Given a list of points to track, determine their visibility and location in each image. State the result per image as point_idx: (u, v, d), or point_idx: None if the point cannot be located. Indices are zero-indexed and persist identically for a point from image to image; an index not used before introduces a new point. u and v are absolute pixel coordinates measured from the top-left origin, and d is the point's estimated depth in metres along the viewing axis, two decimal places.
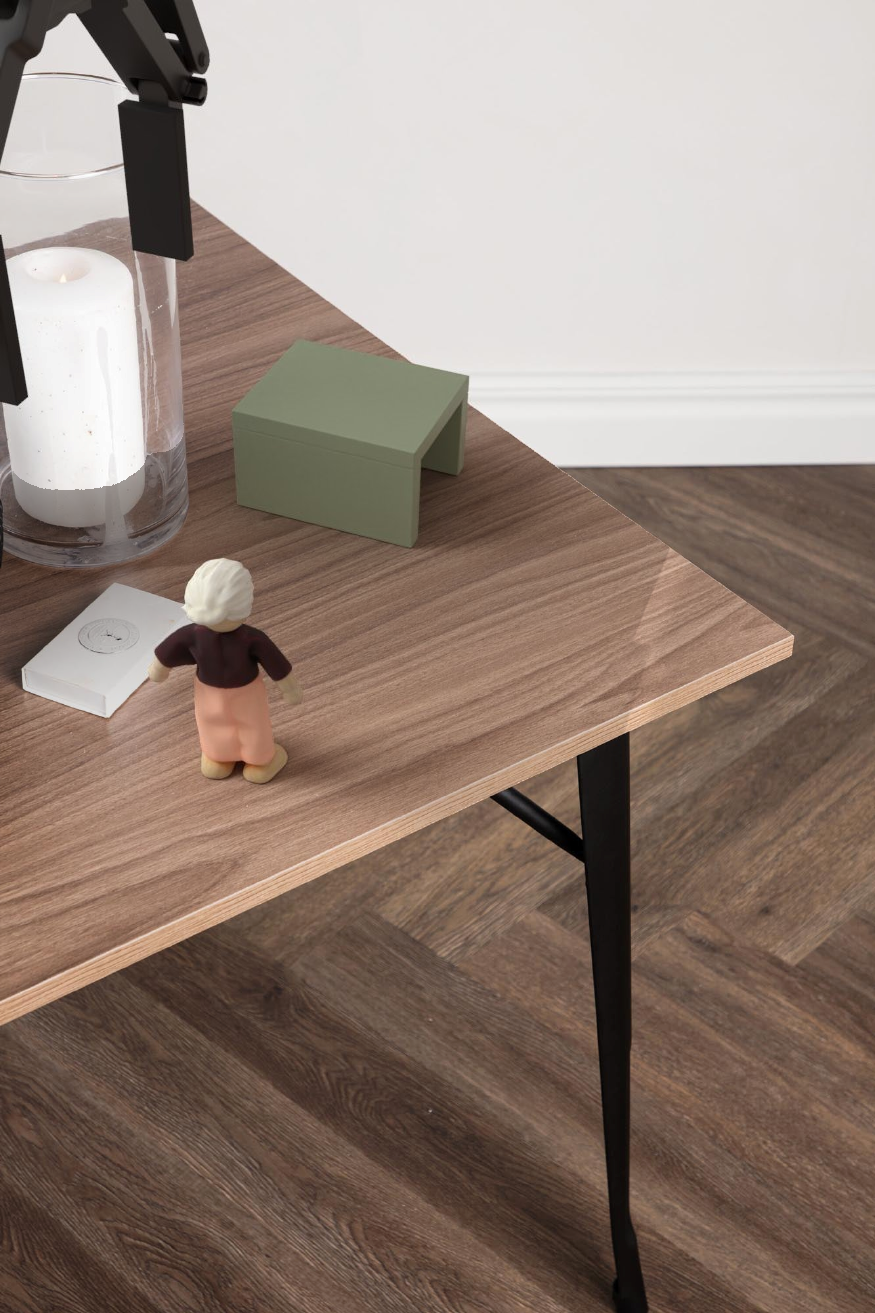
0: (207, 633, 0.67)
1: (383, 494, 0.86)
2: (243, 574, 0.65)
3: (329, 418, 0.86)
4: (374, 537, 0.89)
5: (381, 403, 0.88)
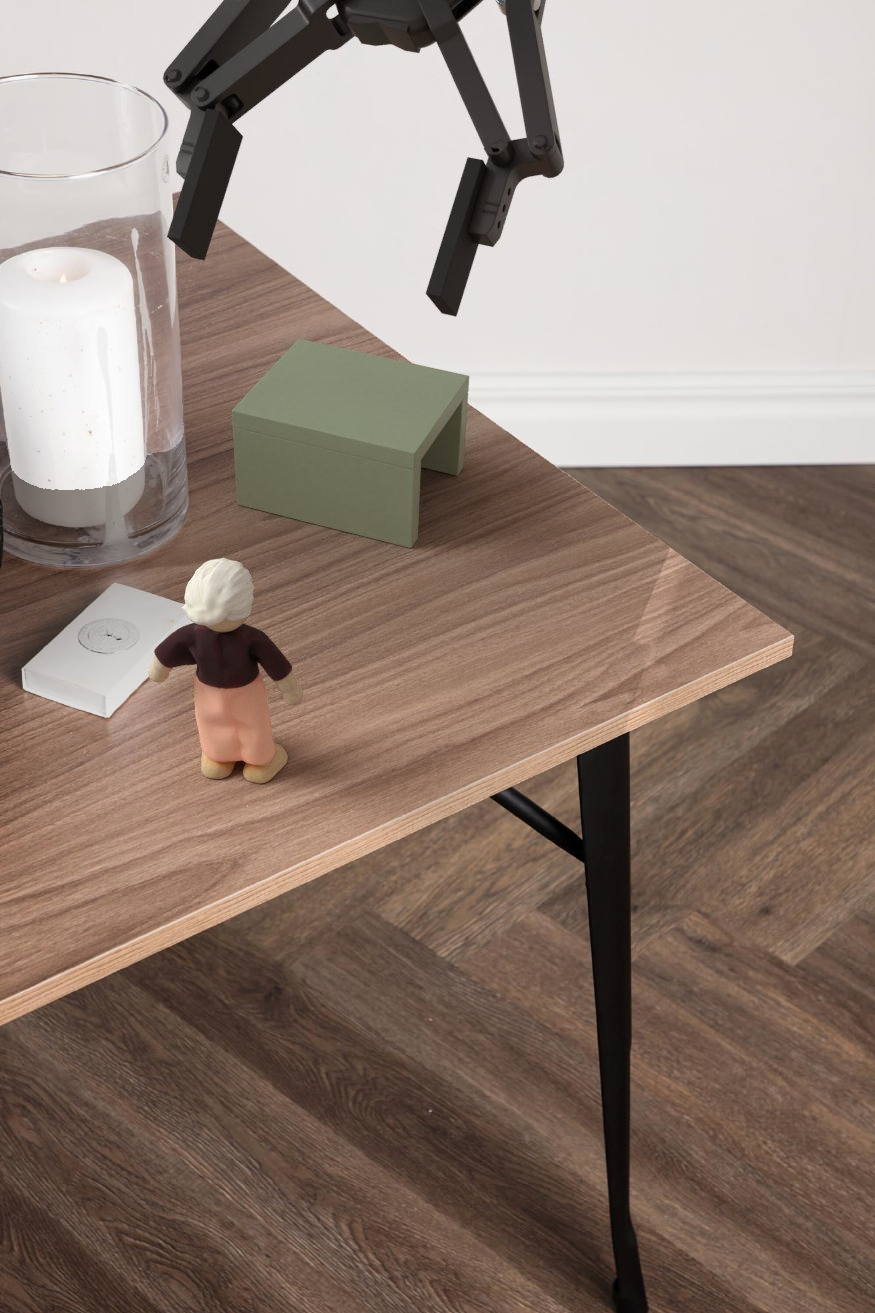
0: (207, 633, 0.67)
1: (383, 494, 0.86)
2: (243, 574, 0.65)
3: (329, 418, 0.86)
4: (374, 537, 0.89)
5: (381, 403, 0.88)
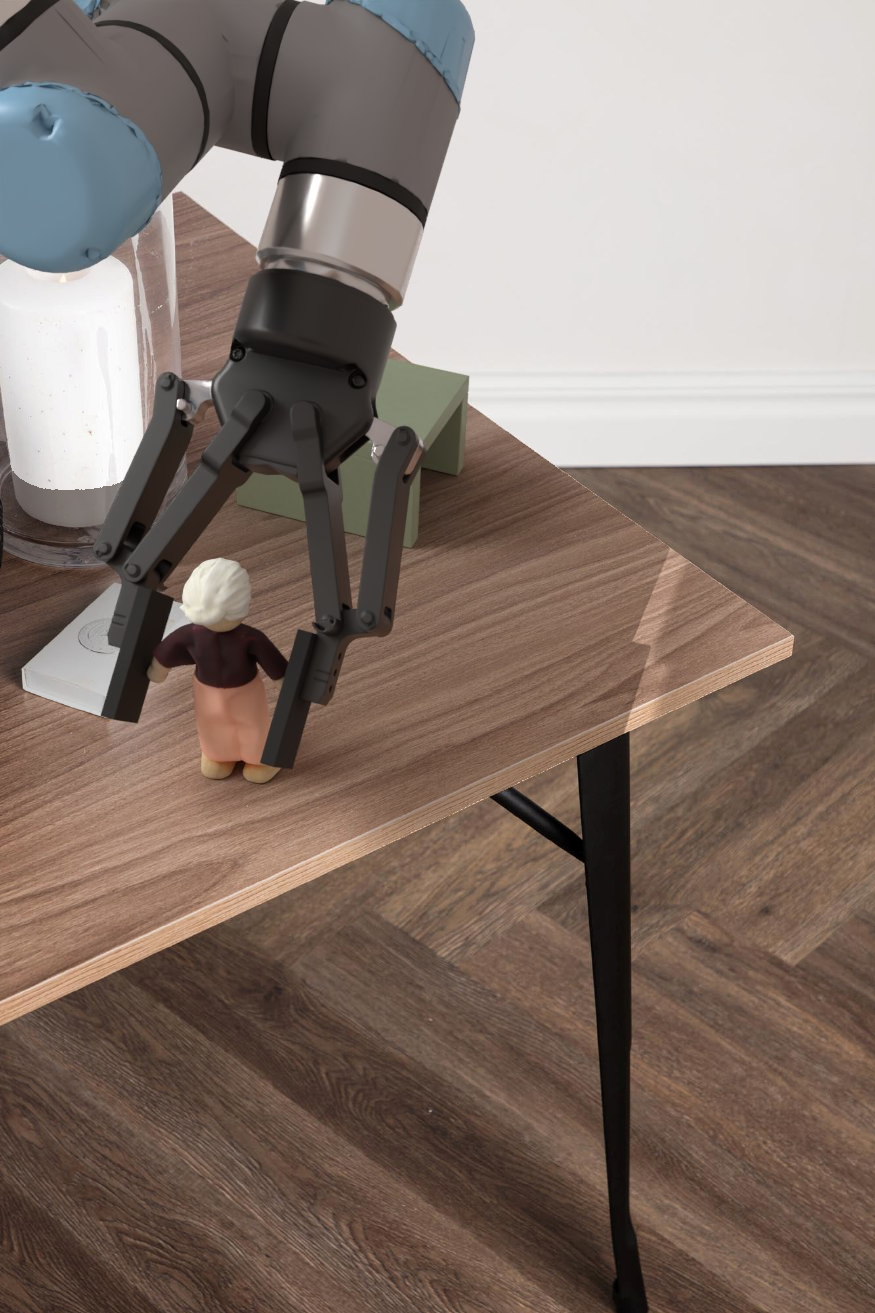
0: (205, 633, 0.67)
1: None
2: (240, 574, 0.65)
3: None
4: None
5: (381, 403, 0.88)
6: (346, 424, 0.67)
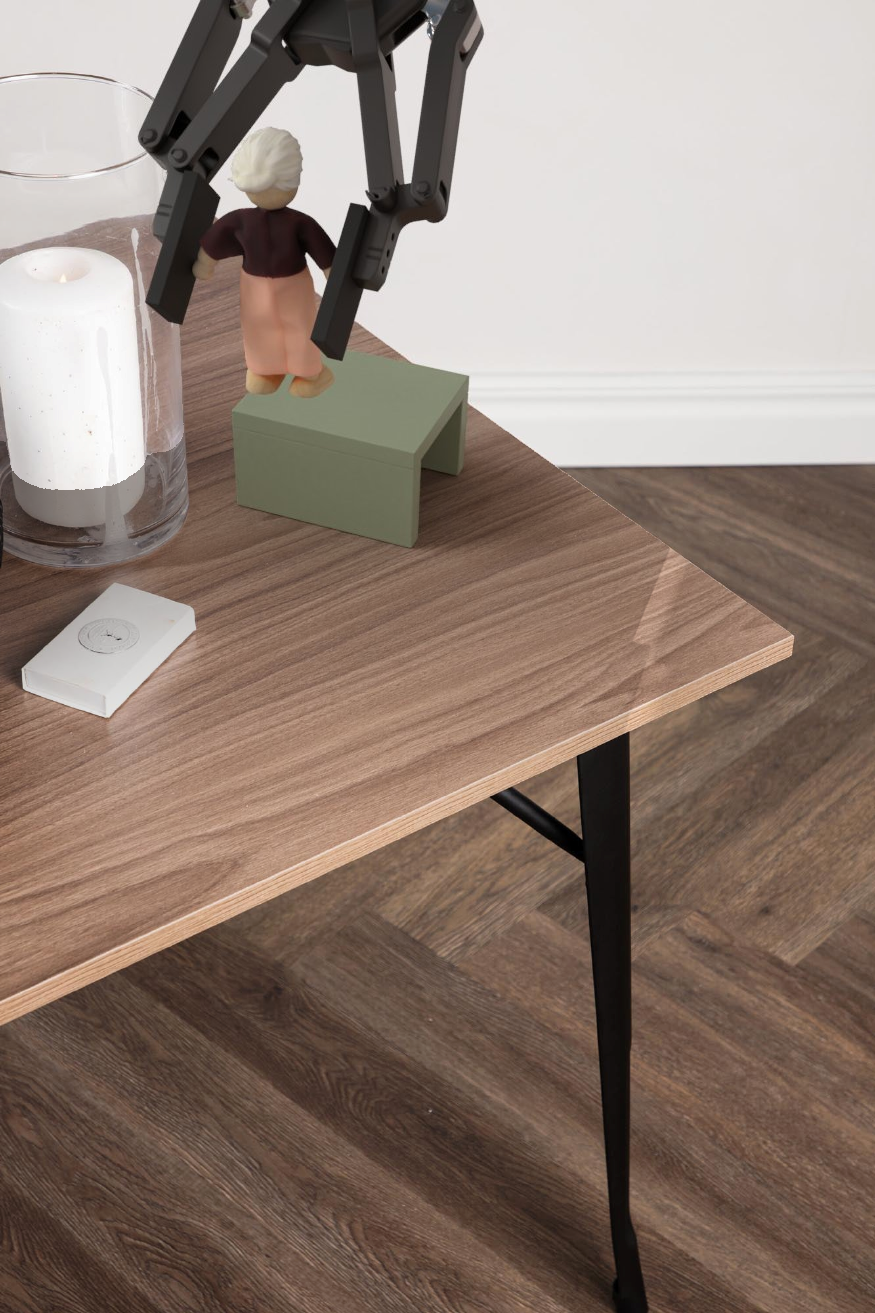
0: (254, 212, 0.65)
1: (383, 494, 0.86)
2: (292, 139, 0.63)
3: (329, 418, 0.86)
4: (374, 537, 0.89)
5: (381, 403, 0.88)
6: None
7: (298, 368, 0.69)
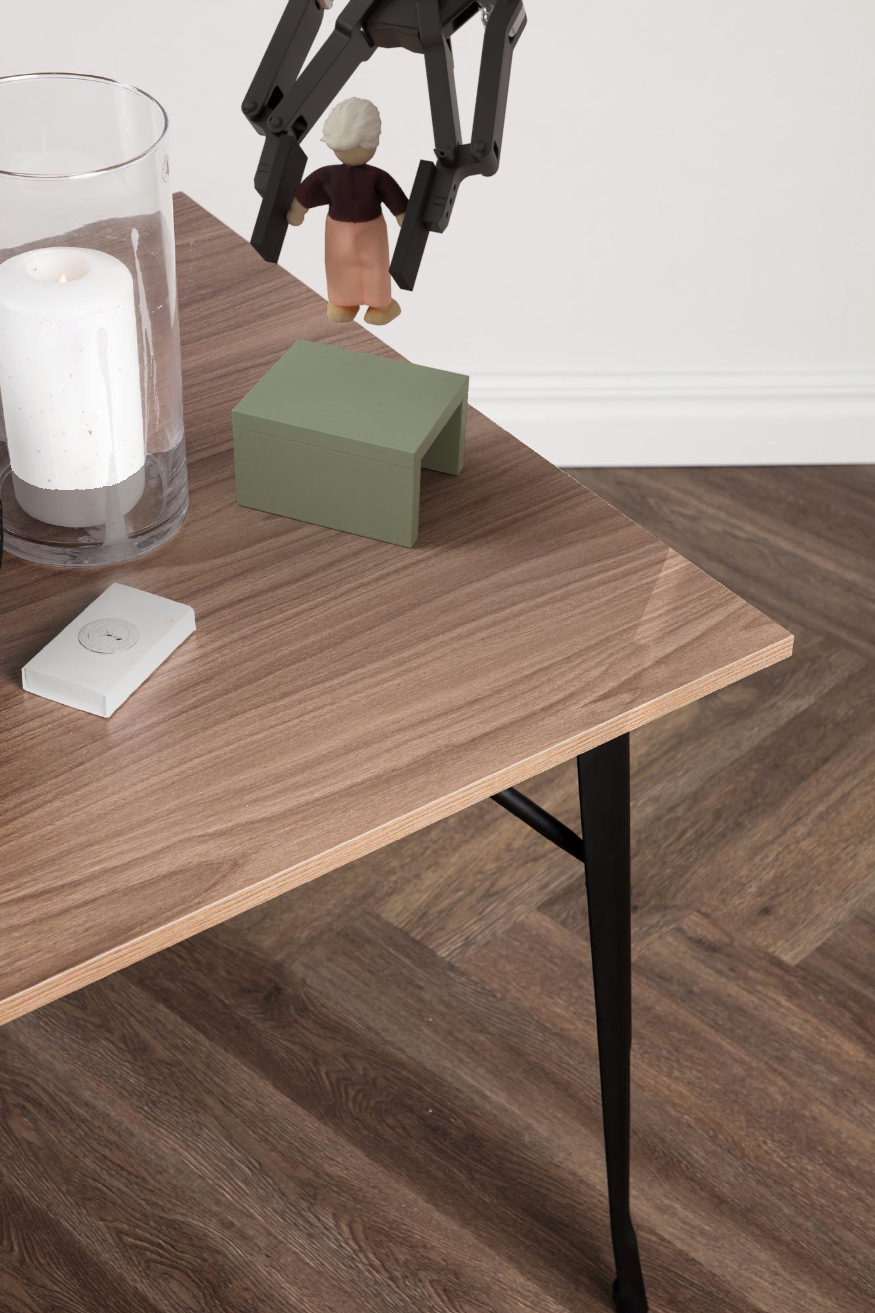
0: (341, 168, 0.79)
1: (383, 494, 0.86)
2: (373, 107, 0.77)
3: (329, 418, 0.86)
4: (374, 537, 0.89)
5: (381, 403, 0.88)
6: None
7: (372, 300, 0.83)
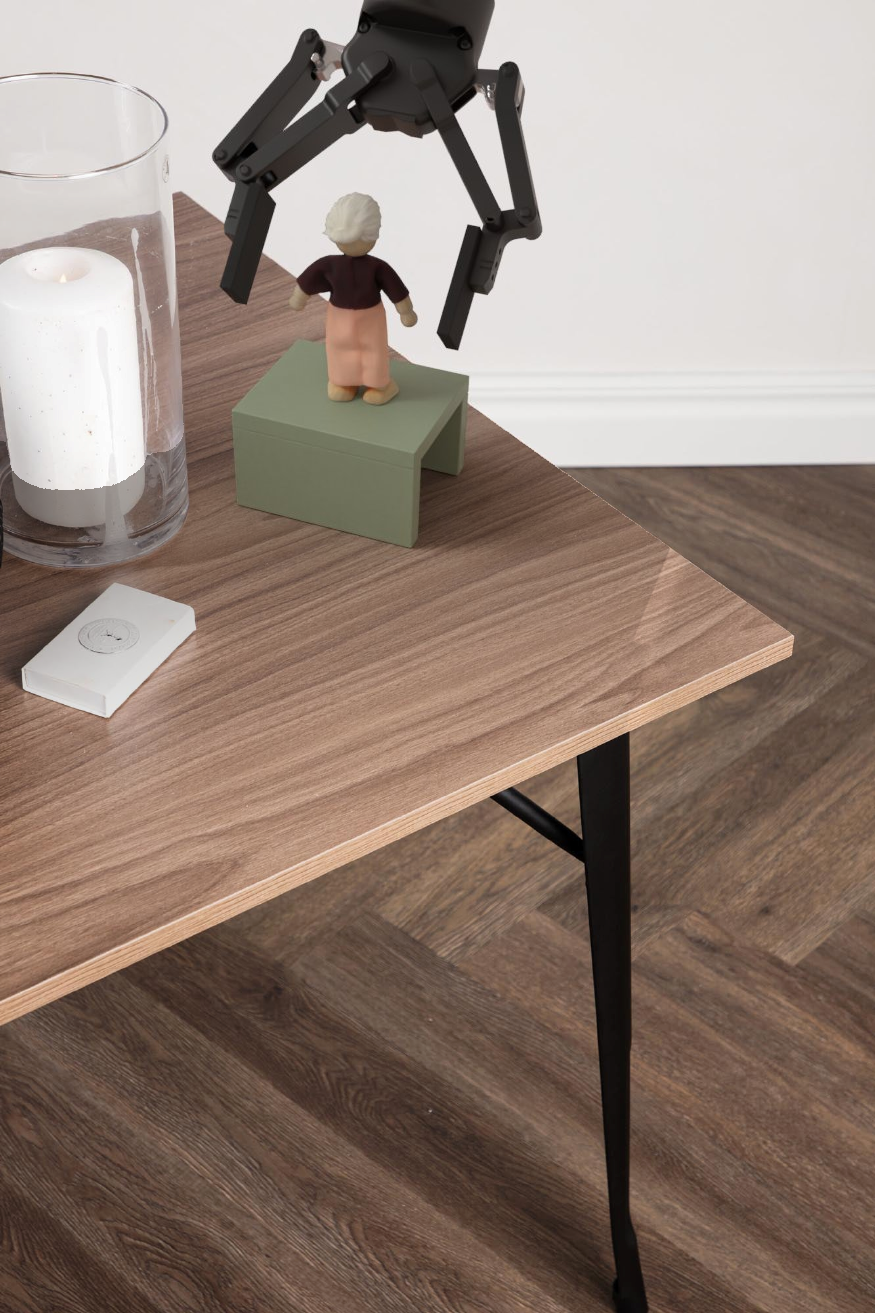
0: (342, 258, 0.82)
1: (383, 494, 0.86)
2: (374, 202, 0.81)
3: (329, 418, 0.86)
4: (374, 537, 0.89)
5: None
6: (455, 78, 0.82)
7: (371, 381, 0.87)
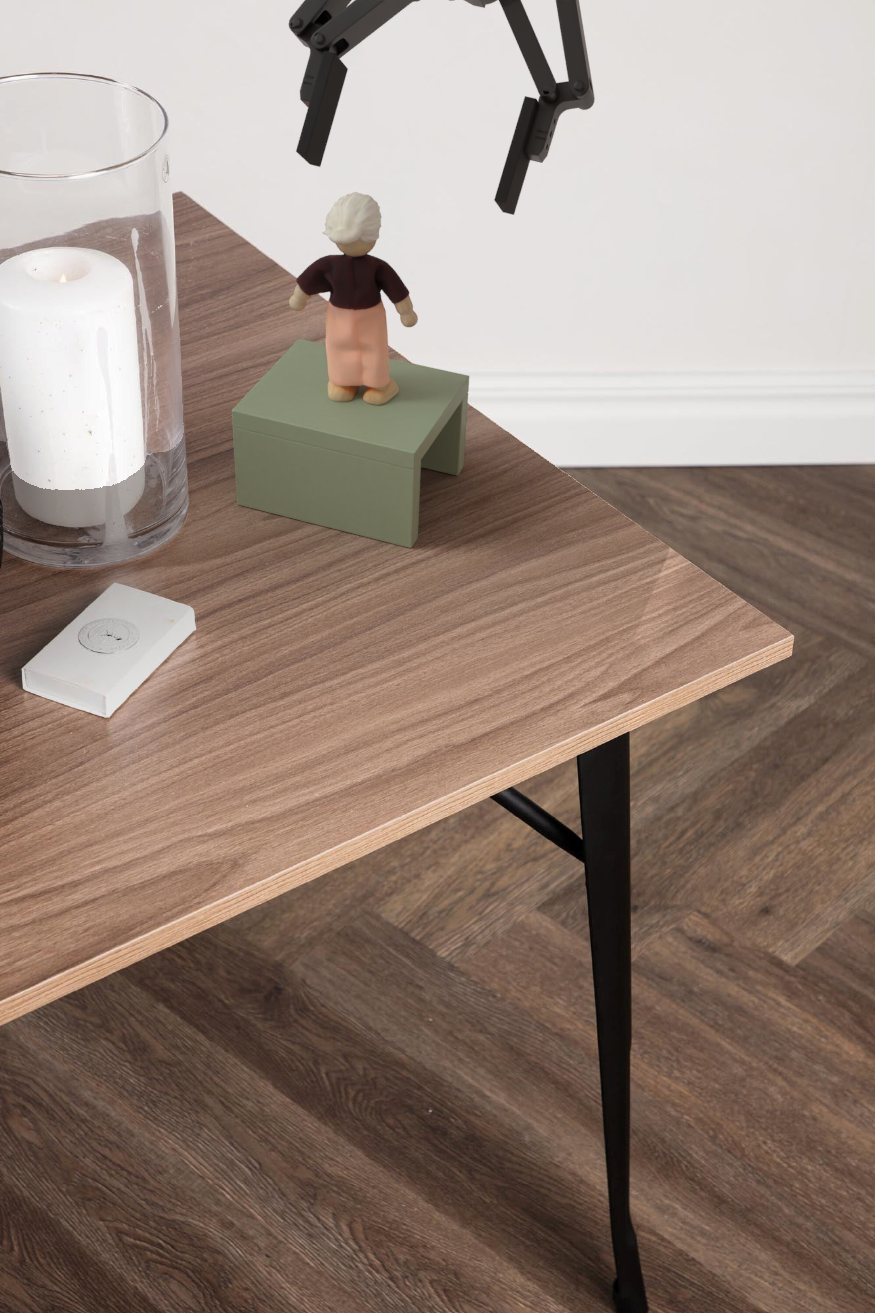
0: (342, 258, 0.82)
1: (383, 494, 0.86)
2: (374, 202, 0.81)
3: (329, 418, 0.86)
4: (374, 537, 0.89)
5: None
6: None
7: (371, 381, 0.87)
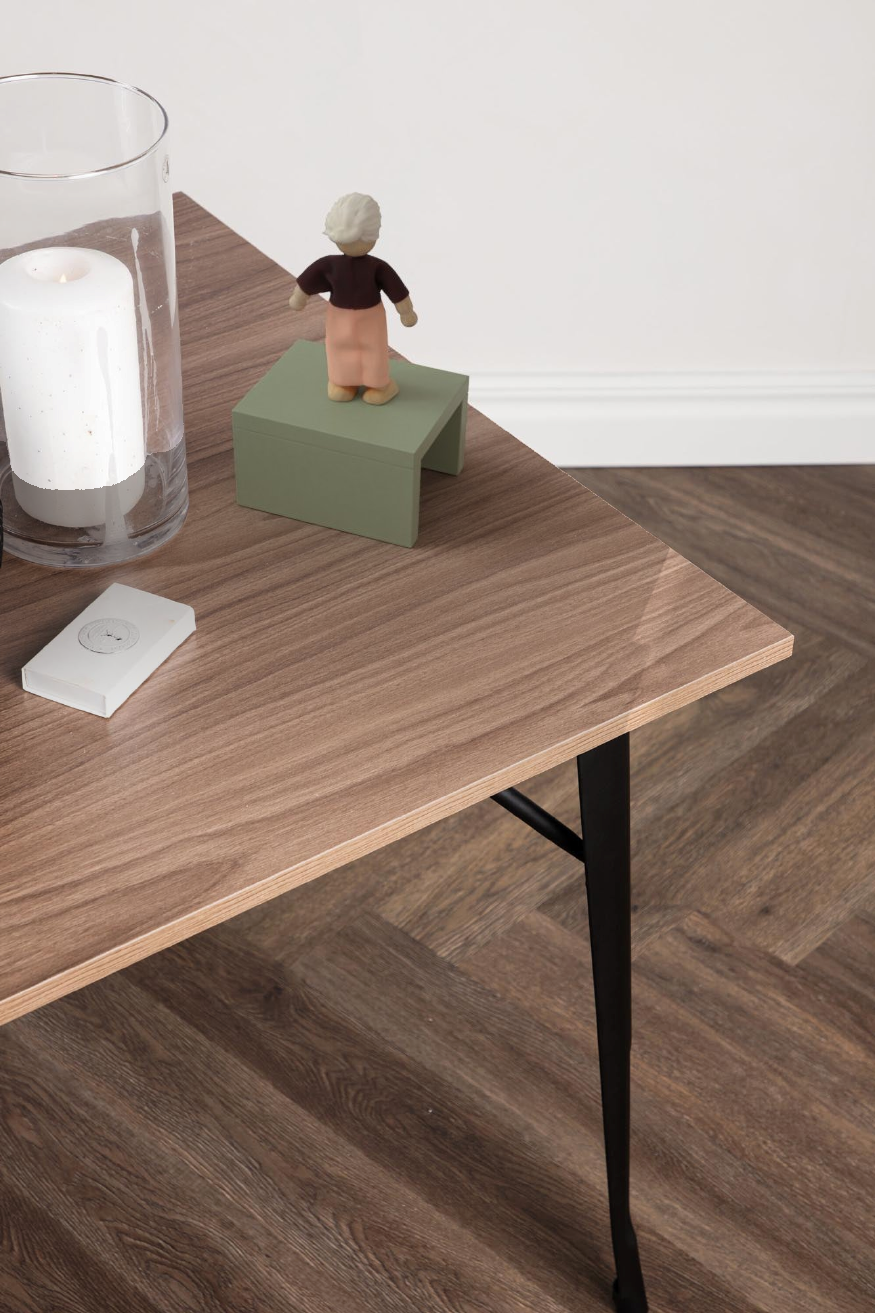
0: (342, 258, 0.82)
1: (383, 494, 0.86)
2: (374, 202, 0.81)
3: (329, 418, 0.86)
4: (374, 537, 0.89)
5: None
6: None
7: (371, 381, 0.87)
